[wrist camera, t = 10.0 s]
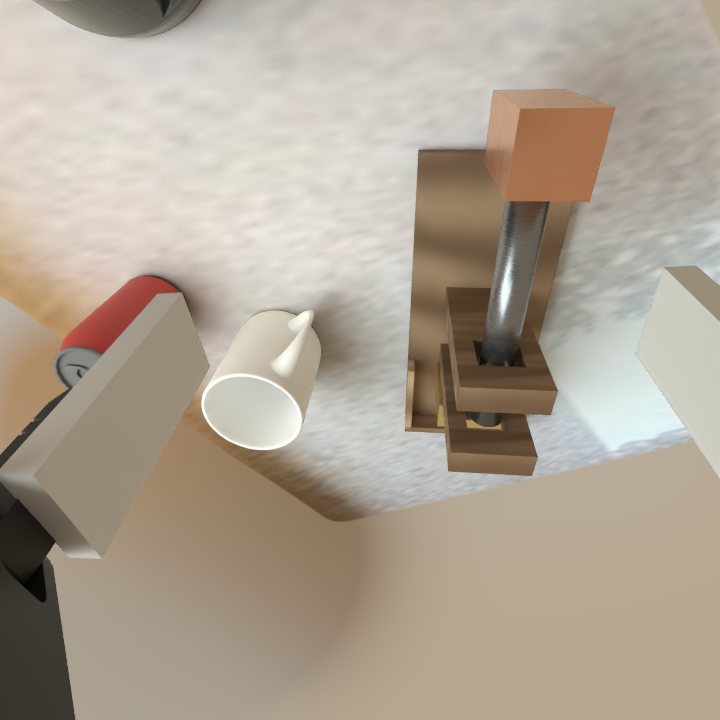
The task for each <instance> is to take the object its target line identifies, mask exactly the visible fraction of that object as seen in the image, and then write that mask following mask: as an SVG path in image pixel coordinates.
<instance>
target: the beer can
mask: <svg viewBox="0 0 720 720" xmlns="http://www.w3.org/2000/svg"><path fill="white" fill-rule="evenodd" d="M162 293H180V292H179V291H177V290H176V289H175V288H174V287H173V286H172V285H171V284H169V283H167V282H165V281H163V280H162V279H159V278H155V277H151V276H140V277H136V278H134V279H131V280H130V281H128V282H127V283H126V284H125V285H124V286H123V287H122V288H120V289H119V290H118V291H117V292H116V293H115V294H114V295H112V296H111V297H110V298H109V299H108V300H107V301H106V302H104V303H103V304H102V305H101V306H100V307H99V308H98V309H96V310H95V311H94V312H93V313H92V314H91V315H90V316H88V317H87V318H86V319H85V320H84V321H83V322H82V323H80V324H79V325H78V326H77V327H76V328H75V329H74V330H72V331H71V332H70V333H69V334H68V335H67V337H66V338H65V339H64V341H63V343H62V346H61V349H60V352H59V353H58V354H57V355H56V356H55V358H54V362H53V366H54V372H55V374H56V376H57V377H58V379H59V381H60V382H61V383H62V384H63V385H64V386H65V388H66V389H67V390H68V389H69V388H73V387H74V386H75V385H76V384H77V383H78V382H79V381H80V379H81V378H82V377H83V376H84V375H85V374H86V373H87V372H88V371H89V369H90V368H91V367H92V366H93V365H94V364H95V363H96V362H97V361H98V359H99V358H100V357H101V356H102V355H103V354H104V353H105V352H106V351H107V349H108V348H109V347H110V346H111V345H112V344H113V343H114V342H115V341H116V339H117V338H118V337H119V336H120V335H121V334H122V333H123V332H124V331H125V329H126V328H127V327H128V326H129V325H130V324H131V323H132V322H133V321H134V319H135V318H136V317H137V316H138V315H139V314H140V313H141V312H142V311H143V309H144V308H145V307H146V306H147V305H148V304H149V303H150V302H151V301H152V299H153V298H154V297H155V296H156V295H157V294H162Z"/></svg>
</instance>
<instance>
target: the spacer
mask: <svg viewBox="0 0 720 720" xmlns="http://www.w3.org/2000/svg"><path fill="white" fill-rule="evenodd" d="M434 386H435V401H436V416H437V426H443V427H444V415H443V403H442V392H441V380H440V369H439V362H436V368H435V378H434ZM466 423H467V428H484V429H502V428H501V424H499V425H498V426H495V427H483V426H480V425H478V424H476V423H475V422H474V421H473V420H466Z"/></svg>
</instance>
